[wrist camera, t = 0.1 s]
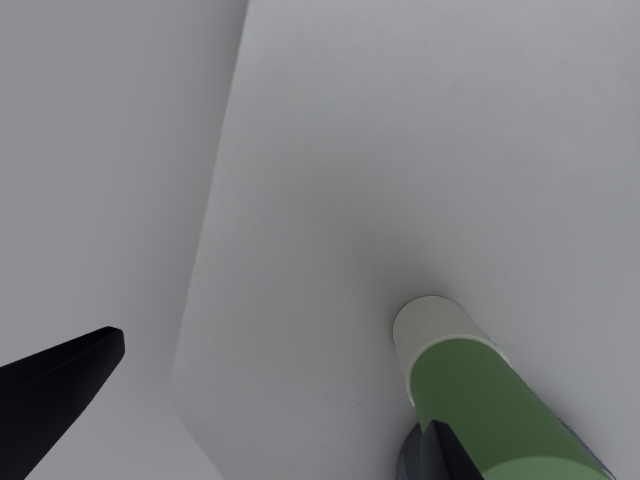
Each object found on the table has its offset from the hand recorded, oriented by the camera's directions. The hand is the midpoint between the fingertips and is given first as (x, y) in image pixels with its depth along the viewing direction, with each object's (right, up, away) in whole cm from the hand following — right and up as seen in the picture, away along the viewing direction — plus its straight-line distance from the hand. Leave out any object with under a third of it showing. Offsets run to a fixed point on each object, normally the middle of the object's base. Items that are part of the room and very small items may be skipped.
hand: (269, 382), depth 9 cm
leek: (+9, -3, +13) cm, 16 cm away
